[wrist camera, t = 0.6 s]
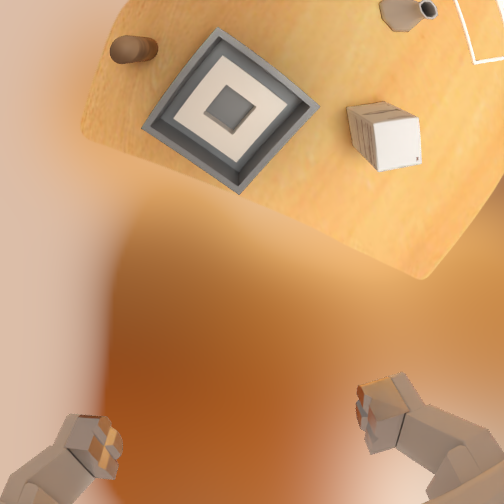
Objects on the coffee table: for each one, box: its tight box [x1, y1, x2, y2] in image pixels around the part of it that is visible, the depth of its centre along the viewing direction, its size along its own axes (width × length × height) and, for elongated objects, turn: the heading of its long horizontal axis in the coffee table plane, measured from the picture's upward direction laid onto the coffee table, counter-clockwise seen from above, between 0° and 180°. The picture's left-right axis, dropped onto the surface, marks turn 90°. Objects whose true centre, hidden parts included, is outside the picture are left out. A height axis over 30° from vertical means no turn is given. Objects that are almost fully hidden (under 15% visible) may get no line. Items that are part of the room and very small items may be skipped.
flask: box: [379, 0, 438, 32], centre depth 31 cm, size 7×7×10 cm
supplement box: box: [346, 101, 422, 172], centre depth 42 cm, size 7×7×13 cm
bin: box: [141, 27, 320, 195], centre depth 43 cm, size 18×18×7 cm
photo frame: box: [453, 0, 504, 65], centre depth 32 cm, size 15×1×18 cm
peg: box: [110, 35, 158, 64], centre depth 35 cm, size 4×4×10 cm
